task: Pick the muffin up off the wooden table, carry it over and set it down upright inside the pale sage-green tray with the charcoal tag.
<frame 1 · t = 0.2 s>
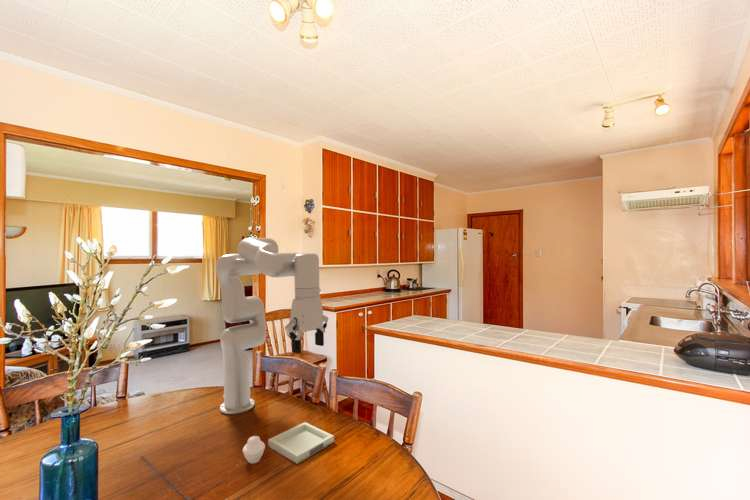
hand: (308, 348, 109), 31 cm above the table, tool pointing down, fingers open, 9 cm apart
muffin: (254, 461, 103), on the table
tray: (301, 444, 111), on the table
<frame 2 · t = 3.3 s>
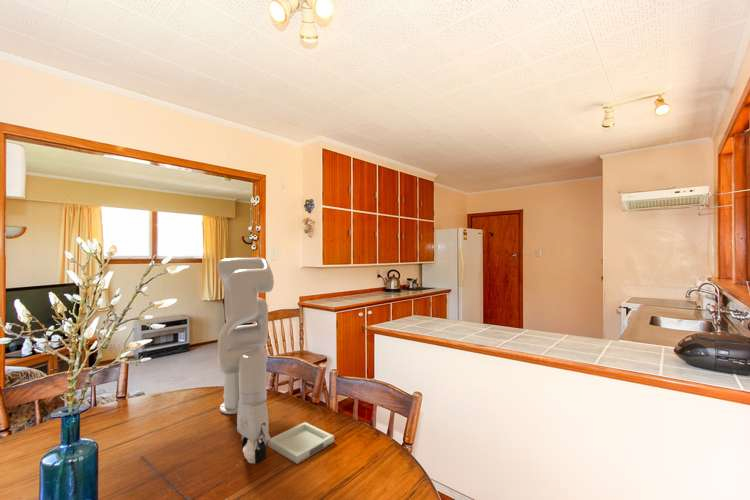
hand: (254, 456, 103), 1 cm above the table, tool pointing down, fingers closed on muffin, 6 cm apart
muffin: (254, 461, 103), on the table, touching gripper
when the fingers open (3 cm above the table, at t = 8.7 s): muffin drops 2 cm, resting on tray.
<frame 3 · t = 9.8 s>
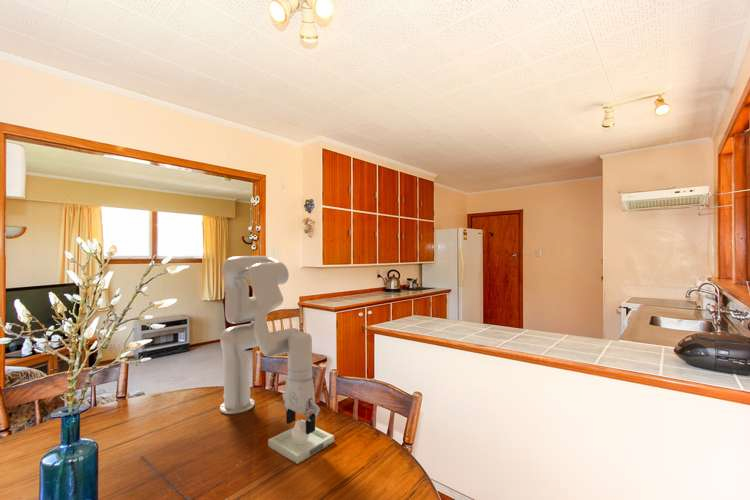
hand: (300, 427, 112), 5 cm above the table, tool pointing down, fingers open, 9 cm apart
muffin: (301, 442, 111), resting on tray
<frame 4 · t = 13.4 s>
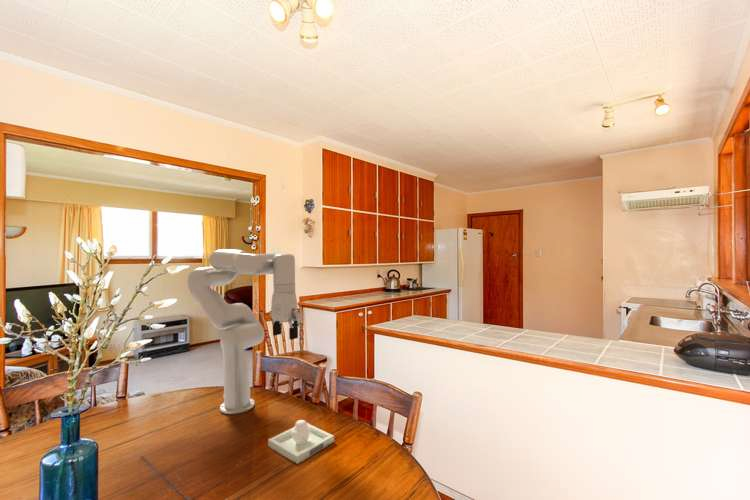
hand: (285, 336, 126), 30 cm above the table, tool pointing down, fingers open, 9 cm apart
nothing on the table moved.
at the end: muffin inside the target area on the tray (0.0 cm from its centre), point 0.4 cm above the tray's base; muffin tilted 0°; the gripper is holding nothing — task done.
